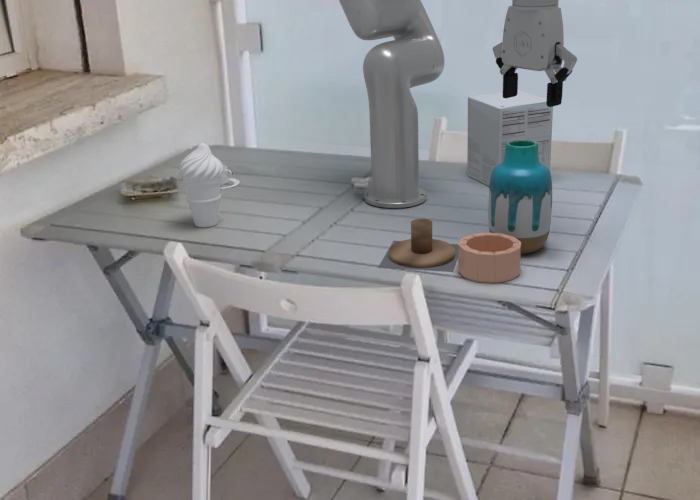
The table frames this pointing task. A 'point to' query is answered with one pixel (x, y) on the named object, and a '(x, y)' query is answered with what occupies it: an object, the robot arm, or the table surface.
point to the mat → (447, 268)
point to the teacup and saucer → (225, 178)
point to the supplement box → (505, 129)
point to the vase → (521, 196)
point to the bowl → (489, 257)
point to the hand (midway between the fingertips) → (531, 101)
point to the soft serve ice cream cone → (202, 185)
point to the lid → (421, 248)
